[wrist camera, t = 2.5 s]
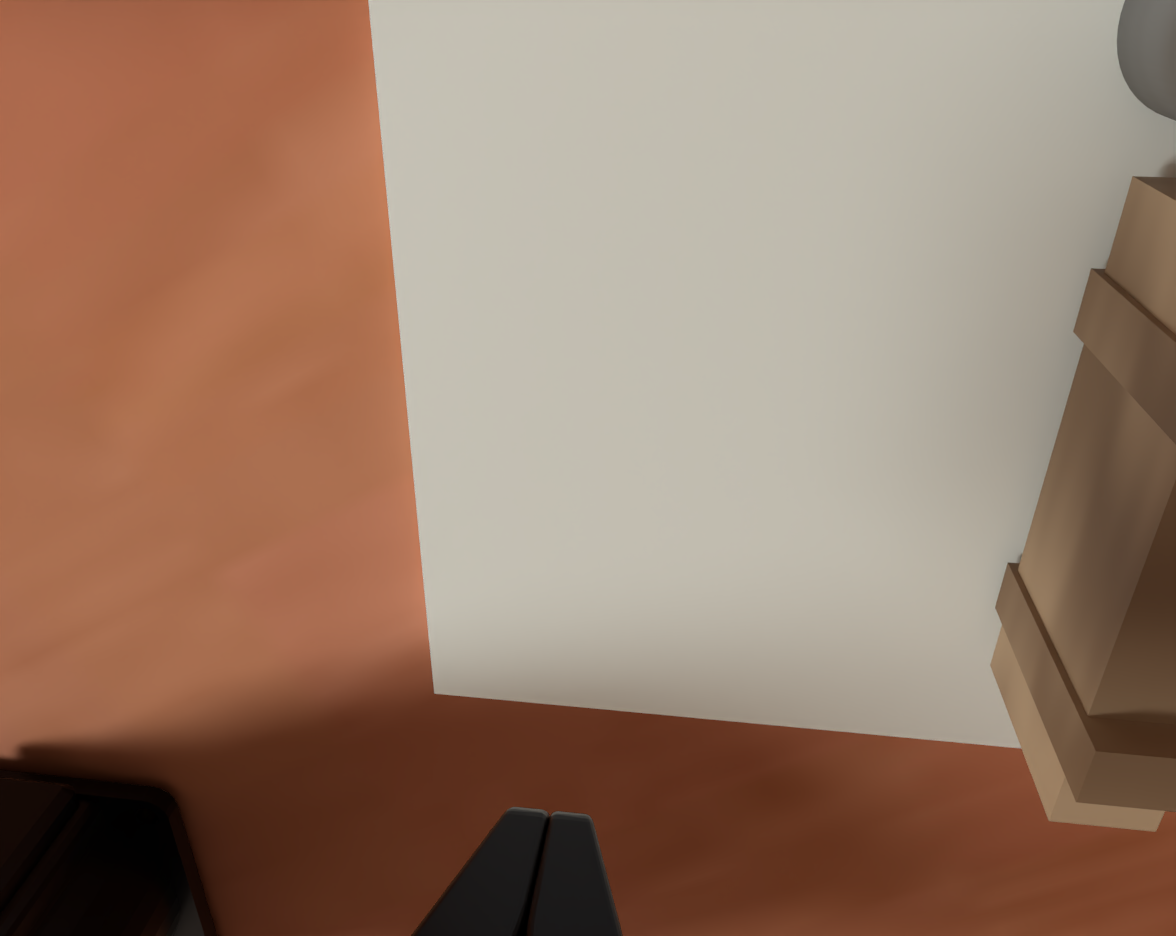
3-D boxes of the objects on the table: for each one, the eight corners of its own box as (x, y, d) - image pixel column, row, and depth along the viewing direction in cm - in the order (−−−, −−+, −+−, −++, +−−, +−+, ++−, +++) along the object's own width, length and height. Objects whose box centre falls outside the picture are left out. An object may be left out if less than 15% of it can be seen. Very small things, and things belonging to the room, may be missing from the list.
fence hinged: (1117, 172, 12) (1282, 268, 8) (1252, 176, 12) (1475, 276, 8) (981, 656, 16) (1054, 857, 12) (1079, 665, 16) (1182, 870, 12)
